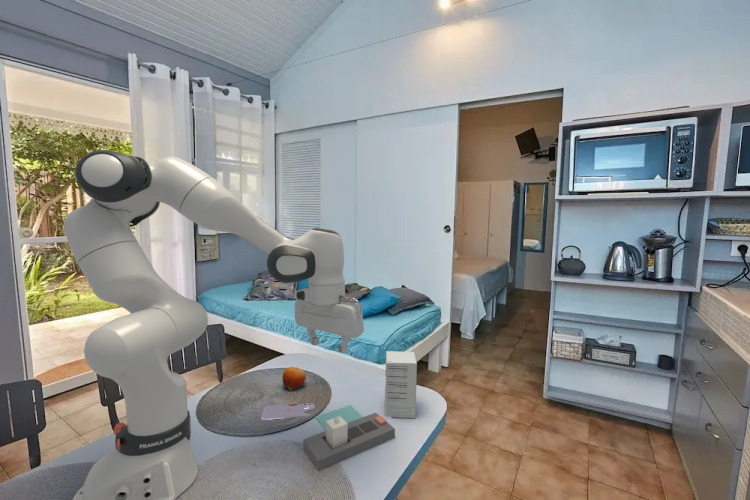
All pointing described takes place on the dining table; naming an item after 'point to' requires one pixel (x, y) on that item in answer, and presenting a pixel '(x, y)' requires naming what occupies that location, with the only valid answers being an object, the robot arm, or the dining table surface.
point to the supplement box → (400, 384)
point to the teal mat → (345, 413)
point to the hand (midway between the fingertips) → (328, 348)
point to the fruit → (293, 377)
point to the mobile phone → (286, 411)
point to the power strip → (349, 441)
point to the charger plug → (336, 432)
